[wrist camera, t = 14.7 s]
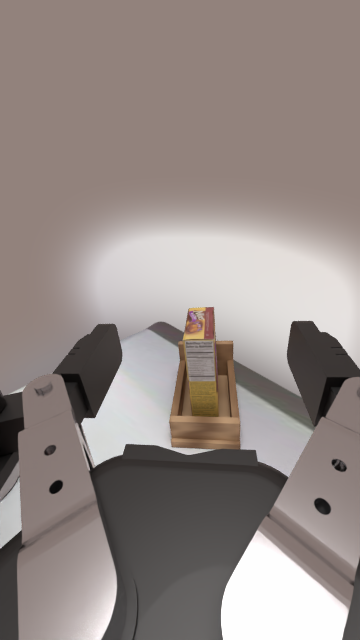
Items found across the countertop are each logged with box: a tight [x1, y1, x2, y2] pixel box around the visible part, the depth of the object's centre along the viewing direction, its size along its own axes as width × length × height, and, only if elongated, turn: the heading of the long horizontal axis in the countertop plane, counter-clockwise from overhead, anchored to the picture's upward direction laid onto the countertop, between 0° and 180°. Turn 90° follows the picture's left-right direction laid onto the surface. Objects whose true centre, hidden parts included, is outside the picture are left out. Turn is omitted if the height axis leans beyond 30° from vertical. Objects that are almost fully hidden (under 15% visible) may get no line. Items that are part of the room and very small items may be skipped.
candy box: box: [183, 307, 219, 417], centre depth 39 cm, size 9×4×15 cm, turn 173°
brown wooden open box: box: [169, 341, 240, 449], centre depth 41 cm, size 10×16×8 cm, turn 174°
